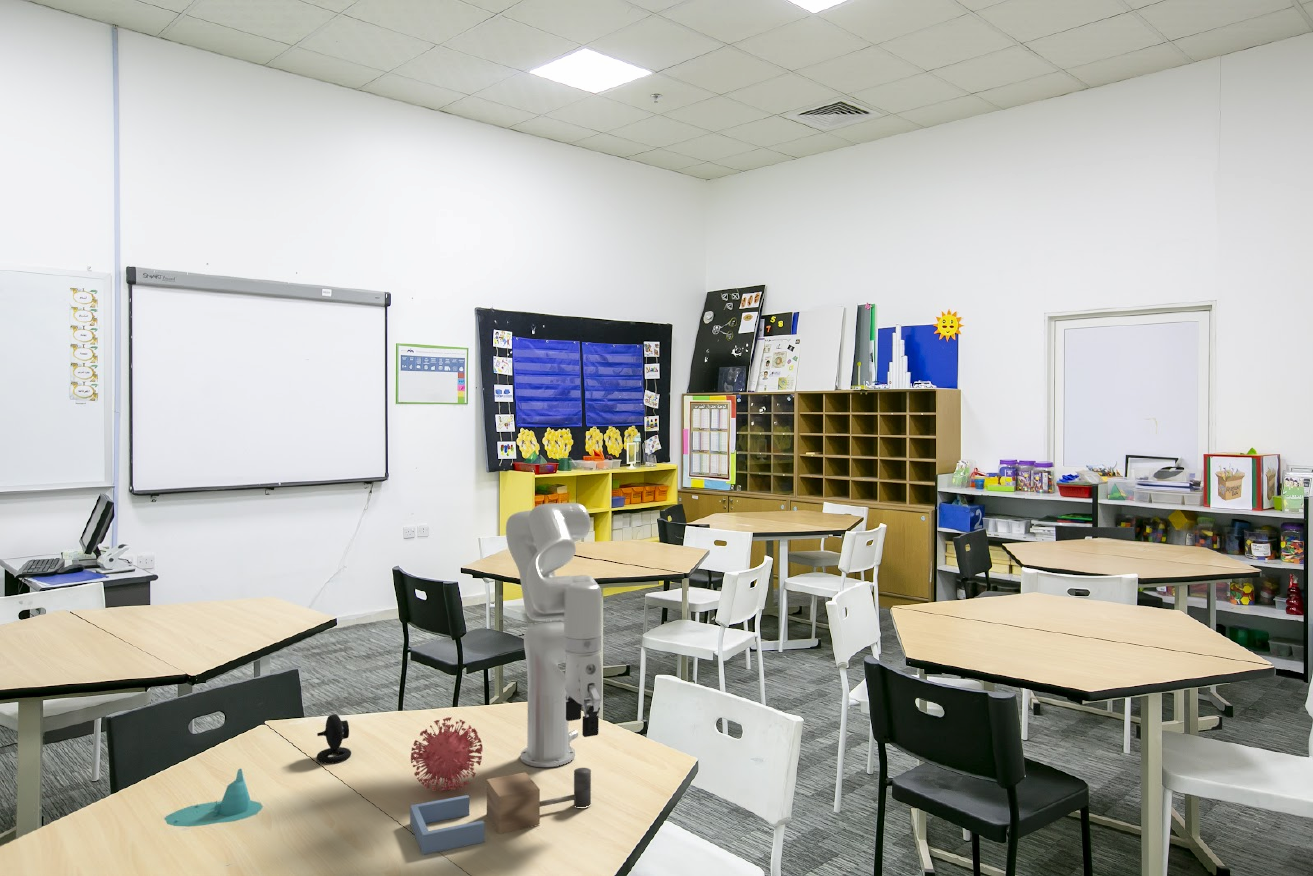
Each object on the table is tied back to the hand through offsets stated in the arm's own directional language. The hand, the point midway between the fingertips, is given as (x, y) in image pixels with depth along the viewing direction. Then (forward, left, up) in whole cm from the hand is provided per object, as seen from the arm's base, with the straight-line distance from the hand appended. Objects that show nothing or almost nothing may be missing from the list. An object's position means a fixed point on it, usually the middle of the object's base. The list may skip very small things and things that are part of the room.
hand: (581, 727), depth 171 cm
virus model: (+8, -29, -16) cm, 34 cm away
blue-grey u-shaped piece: (+22, -15, -16) cm, 31 cm away
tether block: (+7, -5, -16) cm, 18 cm away
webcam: (+8, -64, -16) cm, 67 cm away
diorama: (+39, -61, -17) cm, 75 cm away
